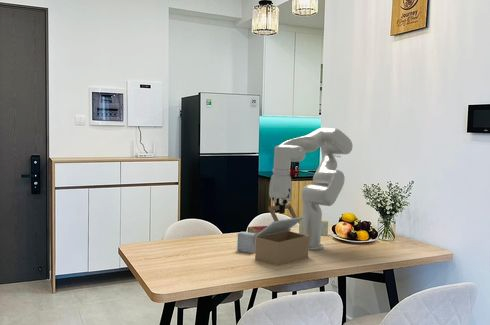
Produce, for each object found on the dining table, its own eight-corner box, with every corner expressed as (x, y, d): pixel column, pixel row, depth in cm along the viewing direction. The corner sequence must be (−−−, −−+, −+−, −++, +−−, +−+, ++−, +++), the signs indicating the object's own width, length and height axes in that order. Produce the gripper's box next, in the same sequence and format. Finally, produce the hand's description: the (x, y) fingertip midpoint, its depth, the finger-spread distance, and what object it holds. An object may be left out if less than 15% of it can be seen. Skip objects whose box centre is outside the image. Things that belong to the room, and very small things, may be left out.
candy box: (327, 235, 257) (328, 220, 257) (327, 236, 255) (328, 221, 255) (298, 233, 259) (299, 219, 259) (298, 234, 257) (299, 219, 256)
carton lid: (256, 236, 203) (248, 219, 206) (287, 230, 219) (279, 214, 222) (274, 222, 195) (265, 205, 198) (305, 217, 211) (296, 201, 214)
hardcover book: (247, 233, 255) (247, 226, 254) (280, 231, 263) (280, 224, 263) (256, 238, 244) (257, 230, 244) (290, 236, 252) (291, 228, 252)
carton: (255, 258, 204) (256, 236, 203) (286, 250, 219) (287, 230, 219) (277, 265, 195) (278, 242, 194) (308, 257, 210) (309, 235, 209)
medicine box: (255, 251, 216) (256, 233, 216) (252, 253, 212) (252, 235, 212) (240, 248, 220) (241, 231, 219) (236, 251, 216) (237, 233, 215)
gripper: (263, 171, 209) (261, 211, 210) (290, 174, 198) (288, 216, 199) (273, 170, 214) (271, 209, 215) (300, 174, 203) (298, 214, 204)
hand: (279, 212), depth 207 cm, fingers closed on carton lid, 2 cm apart
